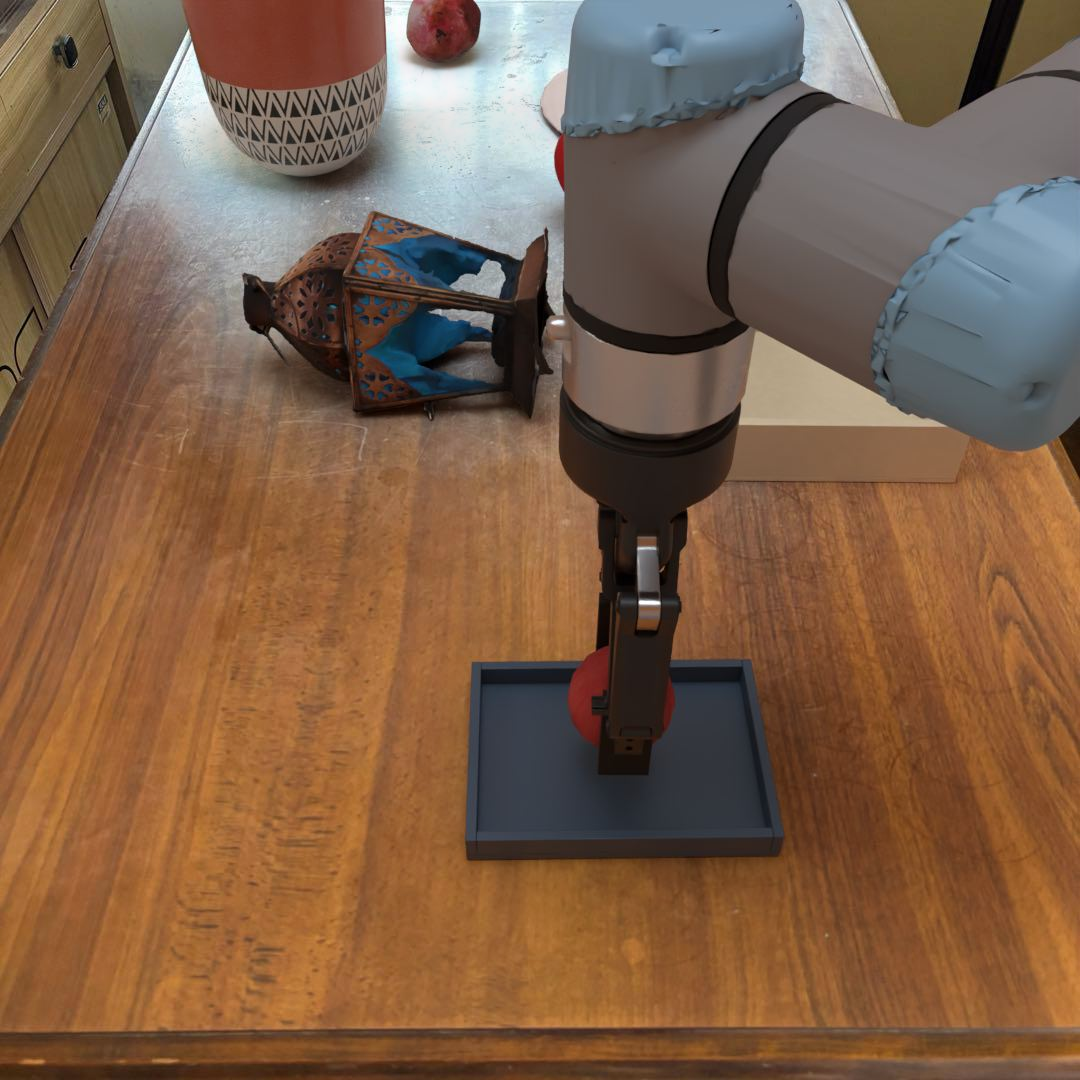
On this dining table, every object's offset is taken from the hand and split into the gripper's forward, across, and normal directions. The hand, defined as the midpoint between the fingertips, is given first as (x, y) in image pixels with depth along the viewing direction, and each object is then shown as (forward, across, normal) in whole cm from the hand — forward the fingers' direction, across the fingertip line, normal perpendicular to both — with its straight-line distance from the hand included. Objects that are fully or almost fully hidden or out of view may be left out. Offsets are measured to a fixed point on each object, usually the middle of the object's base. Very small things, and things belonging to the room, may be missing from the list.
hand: (620, 718), depth 62 cm
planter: (+5, -75, -30) cm, 81 cm away
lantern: (+5, -38, -16) cm, 41 cm away
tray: (+5, 0, 0) cm, 5 cm away
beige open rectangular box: (+5, -35, +17) cm, 39 cm away
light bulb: (+5, -61, 0) cm, 61 cm away
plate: (+5, -89, +9) cm, 89 cm away
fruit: (+5, -103, -18) cm, 105 cm away
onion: (+2, 0, 0) cm, 2 cm away
